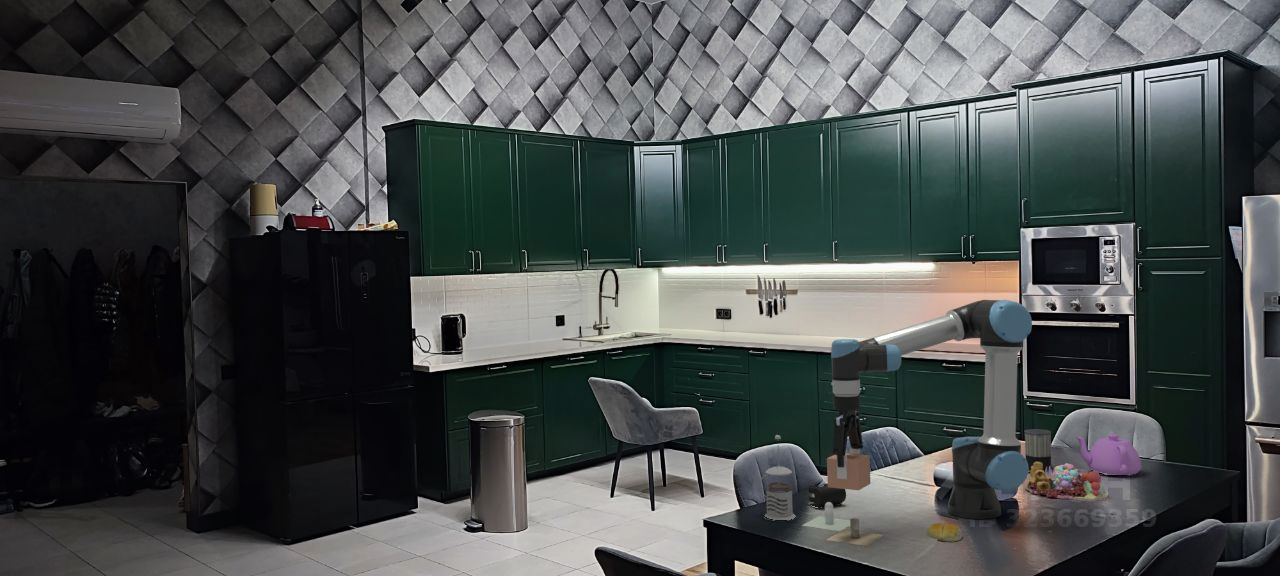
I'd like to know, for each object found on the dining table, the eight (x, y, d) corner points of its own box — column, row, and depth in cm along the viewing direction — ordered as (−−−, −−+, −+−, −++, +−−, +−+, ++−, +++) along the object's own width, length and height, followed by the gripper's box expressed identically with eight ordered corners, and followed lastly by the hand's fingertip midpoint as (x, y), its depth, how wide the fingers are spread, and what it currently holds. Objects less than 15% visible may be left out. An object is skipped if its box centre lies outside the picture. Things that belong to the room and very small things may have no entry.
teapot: (1065, 467, 338) (1064, 429, 338) (1127, 467, 335) (1126, 429, 335) (1085, 480, 316) (1084, 440, 316) (1152, 480, 313) (1151, 440, 313)
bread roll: (931, 532, 258) (931, 518, 258) (964, 536, 253) (963, 522, 253) (923, 540, 251) (923, 525, 251) (956, 544, 247) (956, 529, 246)
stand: (884, 537, 254) (883, 517, 254) (867, 548, 244) (867, 527, 244) (843, 531, 261) (842, 511, 261) (826, 542, 251) (825, 521, 251)
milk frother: (1057, 474, 326) (1056, 432, 326) (1012, 475, 326) (1011, 434, 326) (1040, 466, 340) (1039, 426, 340) (997, 467, 341) (996, 427, 340)
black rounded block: (821, 510, 285) (821, 489, 285) (807, 506, 292) (807, 484, 292) (846, 506, 290) (846, 485, 290) (832, 501, 296) (832, 480, 296)
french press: (788, 522, 273) (786, 438, 273) (753, 517, 279) (750, 436, 279) (801, 514, 281) (799, 433, 281) (766, 510, 287) (764, 431, 287)
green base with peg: (856, 523, 269) (856, 500, 269) (840, 533, 260) (839, 509, 259) (819, 518, 276) (818, 495, 276) (801, 527, 267) (801, 504, 266)
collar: (870, 483, 257) (869, 455, 257) (858, 490, 249) (857, 461, 249) (840, 480, 262) (839, 452, 262) (827, 487, 254) (826, 458, 254)
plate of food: (1027, 499, 293) (1026, 470, 293) (1021, 483, 316) (1021, 456, 316) (1114, 503, 285) (1113, 473, 285) (1102, 486, 308) (1101, 459, 308)
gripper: (848, 389, 266) (850, 466, 267) (818, 399, 248) (820, 481, 249) (873, 390, 262) (875, 468, 262) (844, 400, 244) (847, 484, 244)
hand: (848, 475), depth 256 cm, fingers closed on collar, 9 cm apart
